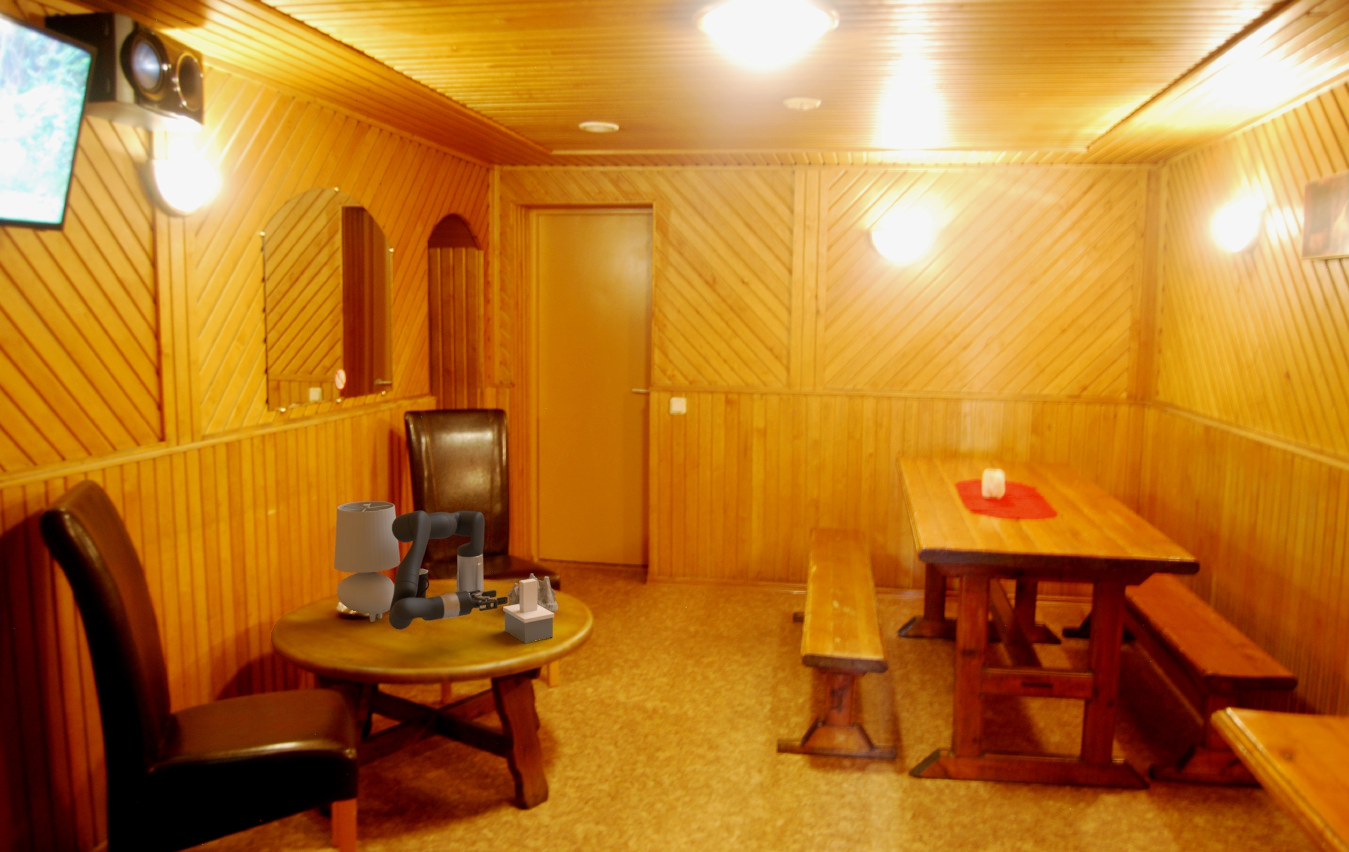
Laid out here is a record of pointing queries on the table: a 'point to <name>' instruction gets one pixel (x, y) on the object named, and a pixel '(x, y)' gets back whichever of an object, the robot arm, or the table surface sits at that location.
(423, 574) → the coffee mug
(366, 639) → the table surface
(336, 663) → the table surface
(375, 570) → the table lamp
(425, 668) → the table surface
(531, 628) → the tub
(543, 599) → the beige rock formation
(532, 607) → the slab with upright post
